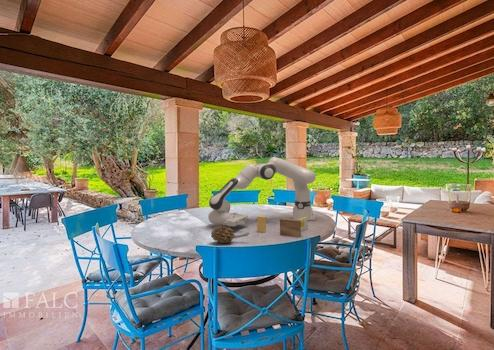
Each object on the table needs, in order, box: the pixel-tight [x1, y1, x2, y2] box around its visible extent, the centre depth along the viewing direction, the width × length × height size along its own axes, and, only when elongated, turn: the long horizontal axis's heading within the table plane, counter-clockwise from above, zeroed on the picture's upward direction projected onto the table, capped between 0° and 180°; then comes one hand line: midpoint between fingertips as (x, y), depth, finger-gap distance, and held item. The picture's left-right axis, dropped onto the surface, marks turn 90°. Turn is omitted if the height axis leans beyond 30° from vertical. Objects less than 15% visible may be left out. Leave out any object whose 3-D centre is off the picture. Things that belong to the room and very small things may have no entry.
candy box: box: [299, 217, 309, 233], centre depth 184 cm, size 16×2×8 cm, turn 141°
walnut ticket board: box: [279, 217, 302, 238], centre depth 175 cm, size 4×12×10 cm, turn 63°
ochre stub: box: [256, 215, 267, 233], centre depth 184 cm, size 3×5×10 cm, turn 63°
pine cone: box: [210, 225, 250, 244], centre depth 162 cm, size 22×10×10 cm, turn 96°
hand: (247, 221), depth 188 cm, fingers open, 8 cm apart
